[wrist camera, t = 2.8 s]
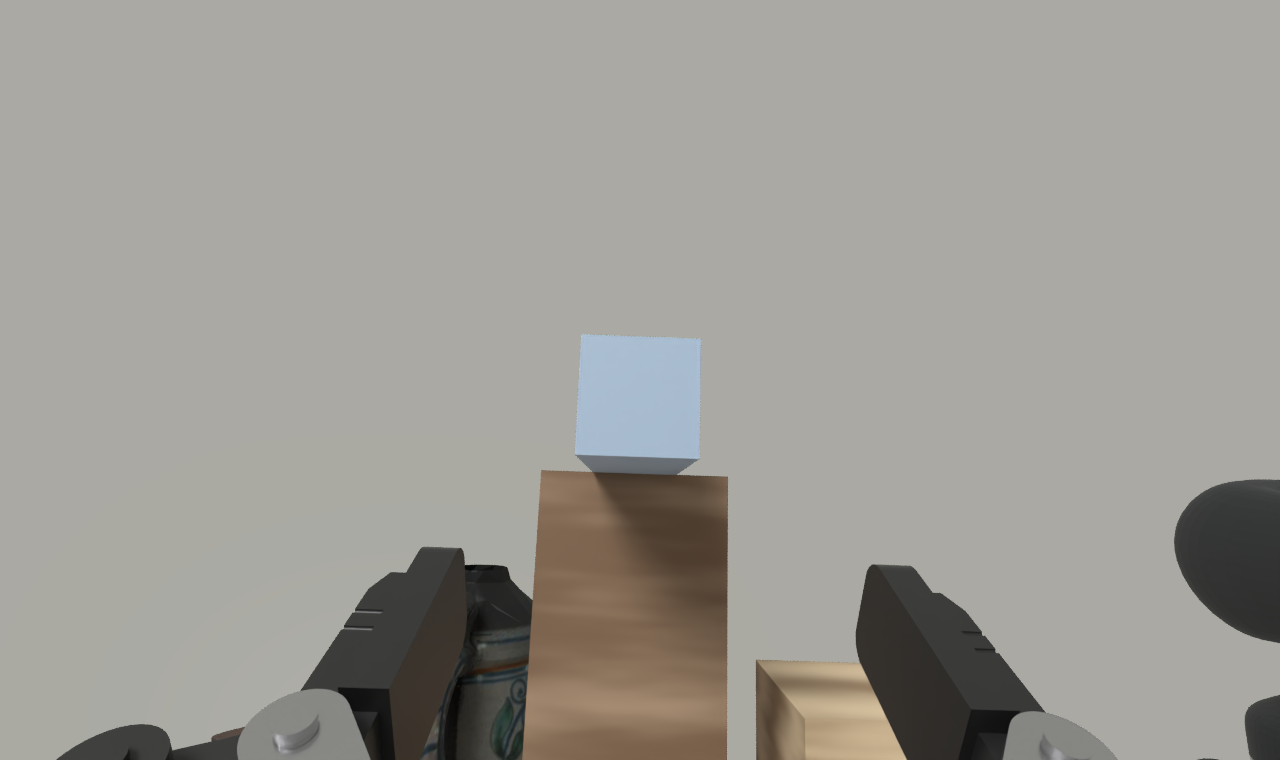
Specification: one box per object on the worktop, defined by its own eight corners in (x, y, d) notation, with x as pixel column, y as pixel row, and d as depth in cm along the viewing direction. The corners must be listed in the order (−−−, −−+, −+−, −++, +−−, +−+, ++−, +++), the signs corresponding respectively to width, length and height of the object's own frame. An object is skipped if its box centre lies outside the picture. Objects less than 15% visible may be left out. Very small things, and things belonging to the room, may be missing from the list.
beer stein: (537, 829, 58) (553, 558, 63) (605, 972, 41) (620, 580, 46) (347, 861, 52) (382, 558, 57) (329, 1046, 34) (382, 584, 40)
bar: (604, 483, 43) (607, 427, 44) (661, 485, 43) (662, 429, 44) (574, 454, 19) (581, 334, 20) (699, 458, 20) (700, 338, 20)
